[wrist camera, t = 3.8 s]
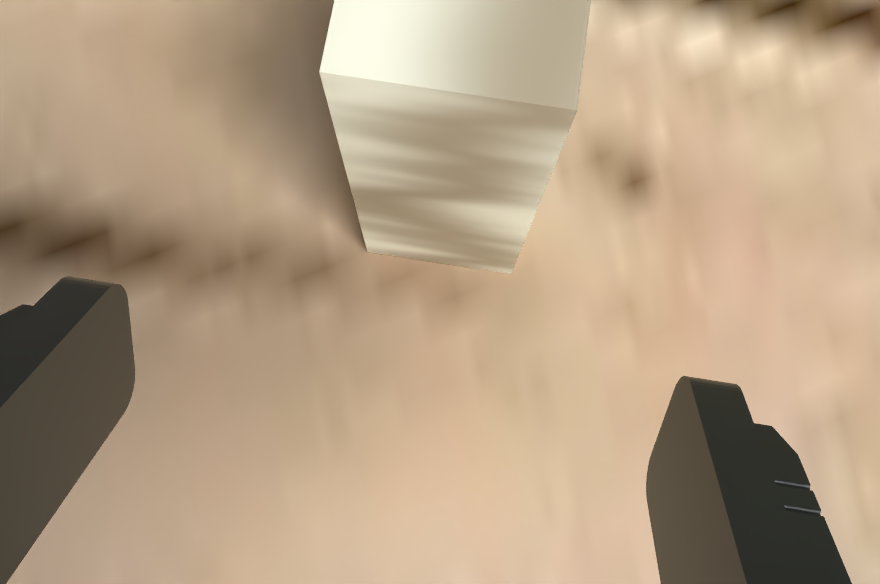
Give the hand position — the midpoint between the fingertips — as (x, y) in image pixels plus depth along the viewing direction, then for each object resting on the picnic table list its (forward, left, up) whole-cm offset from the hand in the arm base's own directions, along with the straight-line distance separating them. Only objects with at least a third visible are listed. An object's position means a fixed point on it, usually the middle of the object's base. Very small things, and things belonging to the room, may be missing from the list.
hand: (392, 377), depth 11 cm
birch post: (0, +7, -12) cm, 14 cm away
